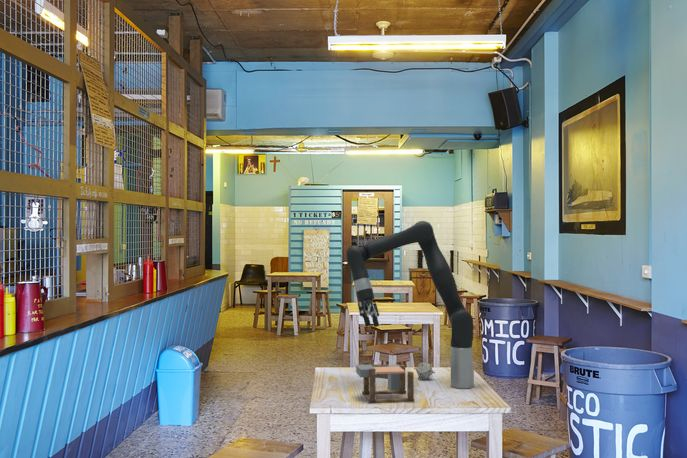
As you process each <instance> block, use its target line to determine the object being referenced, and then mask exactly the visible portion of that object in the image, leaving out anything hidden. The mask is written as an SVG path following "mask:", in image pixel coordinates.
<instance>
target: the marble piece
mask: <svg viewBox="0 0 687 458" xmlns="http://www.w3.org/2000/svg"><path fill="white" fill-rule="evenodd" d="M371 365H372V366H373V367H388V365H389V364H388V365H386V364H384V365H383V364H371ZM376 378H378V379H383V380H384V379H385V380H388V374H376V375H375V379H376Z"/></svg>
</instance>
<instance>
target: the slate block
mask: <svg viewBox="0 0 687 458" xmlns="http://www.w3.org/2000/svg"><path fill="white" fill-rule="evenodd" d="M399 365H400V364H388V367H395V366H399ZM387 390H388V391H391V390H399V374H388V379H387Z"/></svg>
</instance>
